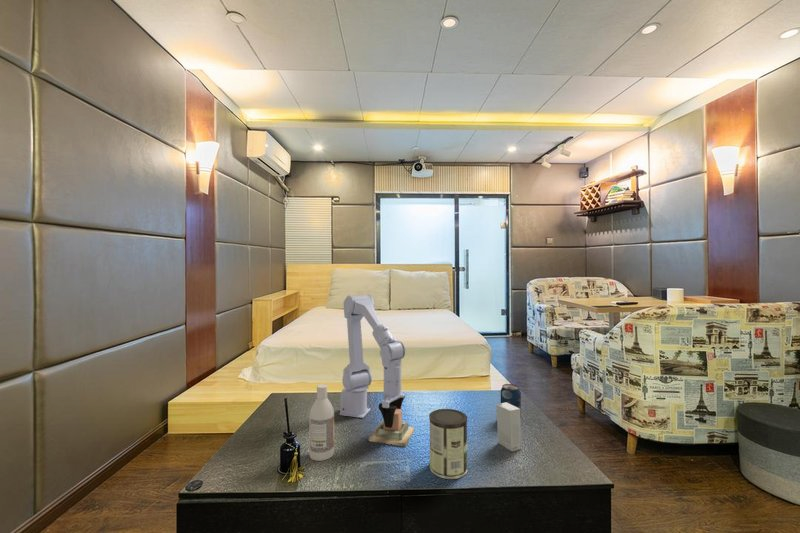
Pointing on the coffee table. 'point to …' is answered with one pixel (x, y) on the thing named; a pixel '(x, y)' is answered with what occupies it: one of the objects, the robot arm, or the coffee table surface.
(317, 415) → the bath foam
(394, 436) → the socket stand
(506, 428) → the skincare box
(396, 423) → the keyed peg
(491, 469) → the coffee table surface
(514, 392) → the soda can
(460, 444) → the coffee can
